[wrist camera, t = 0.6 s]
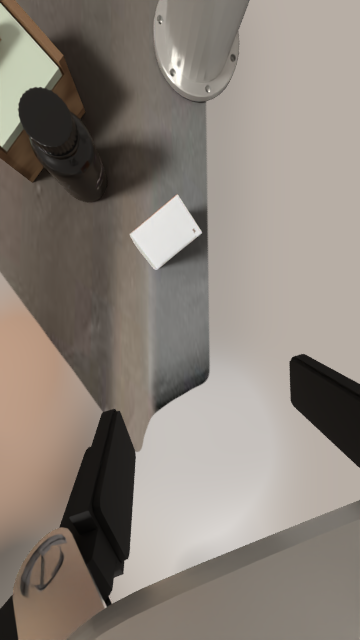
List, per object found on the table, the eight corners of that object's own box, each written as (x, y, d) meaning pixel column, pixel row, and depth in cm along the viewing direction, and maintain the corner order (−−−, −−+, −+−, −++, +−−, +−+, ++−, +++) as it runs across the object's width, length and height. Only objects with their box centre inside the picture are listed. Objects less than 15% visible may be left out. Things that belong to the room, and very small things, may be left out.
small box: (169, 216, 32) (178, 191, 22) (187, 243, 34) (204, 232, 24) (133, 244, 33) (128, 233, 23) (154, 270, 34) (156, 270, 24)
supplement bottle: (115, 194, 30) (96, 148, 19) (76, 209, 30) (32, 171, 18) (95, 146, 28) (59, 61, 17) (52, 161, 28) (-14, 85, 16)
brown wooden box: (25, 47, 24) (-24, -45, 17) (85, 111, 27) (63, 55, 20) (-31, 128, 25) (-99, 73, 18) (32, 182, 28) (-7, 152, 21)
